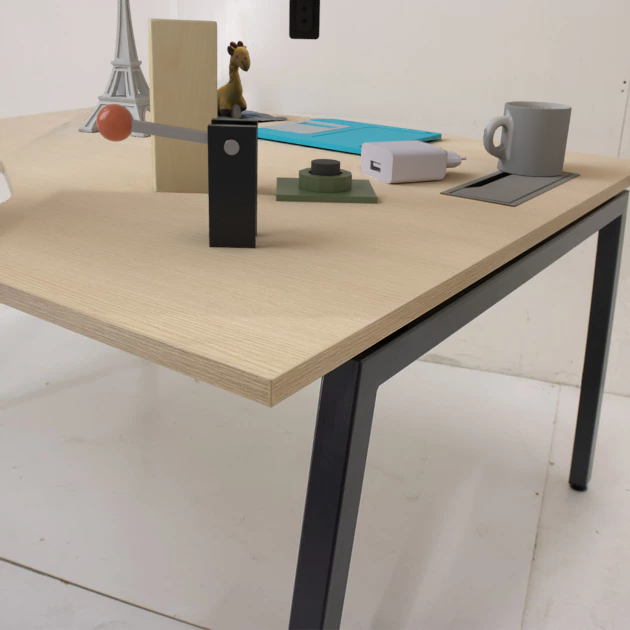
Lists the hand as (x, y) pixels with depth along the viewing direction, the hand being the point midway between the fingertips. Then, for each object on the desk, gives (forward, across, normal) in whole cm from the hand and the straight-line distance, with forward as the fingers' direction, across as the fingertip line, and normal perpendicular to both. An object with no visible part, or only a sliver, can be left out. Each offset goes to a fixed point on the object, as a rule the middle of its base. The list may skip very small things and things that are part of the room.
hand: (303, 37), depth 89 cm
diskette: (+20, -57, +8) cm, 61 cm away
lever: (+10, +19, -12) cm, 24 cm away
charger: (+20, -23, +18) cm, 35 cm away
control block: (+20, -4, +3) cm, 20 cm away
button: (+16, -4, +3) cm, 17 cm away
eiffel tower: (+20, -59, -32) cm, 70 cm away
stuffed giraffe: (+20, -80, -14) cm, 84 cm away
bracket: (+20, +19, -7) cm, 28 cm away
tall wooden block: (+20, -9, -15) cm, 27 cm away
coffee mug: (+20, -30, +35) cm, 50 cm away
